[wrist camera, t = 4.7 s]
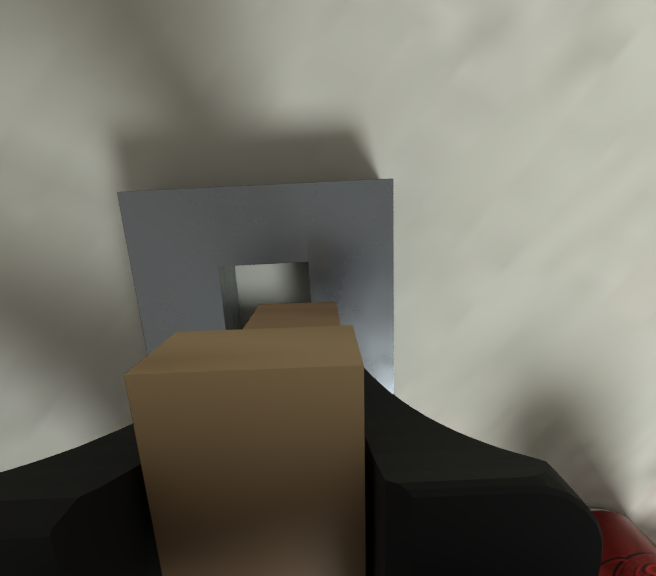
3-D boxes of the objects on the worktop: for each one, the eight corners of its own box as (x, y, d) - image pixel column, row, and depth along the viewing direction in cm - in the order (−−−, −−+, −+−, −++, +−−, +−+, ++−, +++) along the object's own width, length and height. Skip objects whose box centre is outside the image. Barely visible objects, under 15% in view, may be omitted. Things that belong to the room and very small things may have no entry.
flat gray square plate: (383, 392, 21) (393, 420, 18) (184, 402, 21) (162, 433, 18) (381, 184, 18) (393, 178, 15) (149, 195, 18) (116, 192, 15)
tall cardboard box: (339, 424, 14) (367, 734, 6) (269, 427, 14) (194, 743, 6) (335, 263, 12) (363, 364, 4) (256, 266, 12) (124, 374, 4)
